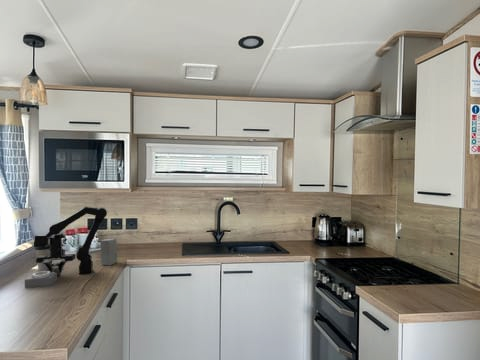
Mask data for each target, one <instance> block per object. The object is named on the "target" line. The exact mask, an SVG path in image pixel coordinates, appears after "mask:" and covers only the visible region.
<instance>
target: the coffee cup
mask: <svg viewBox="0 0 480 360" xmlns="http://www.w3.org/2000/svg"><path fill="white" fill-rule="evenodd" d="M49 249H50V243H49V245H47V246H46V247H38V248H34V250H35V257H36V258H37V257H39V256H43V255H47V256H48V257H49V256H50V251H49ZM36 258H35V259H36ZM43 263H44V261H43V262H42V263H37V269H38V272H40V271H49V269H48V268H47V266H46V265H45V264H43Z"/></svg>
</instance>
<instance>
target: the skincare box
mask: <svg viewBox="0 0 480 360" xmlns="http://www.w3.org/2000/svg"><path fill="white" fill-rule="evenodd" d="M117 251H118V250H117V238H106V239H105V238H103V239H102V240H100V263H101V266H111V265H115V263H118V258H117V257H118V255H117Z"/></svg>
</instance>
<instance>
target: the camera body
mask: <svg viewBox="0 0 480 360" xmlns="http://www.w3.org/2000/svg"><path fill="white" fill-rule="evenodd" d="M56 281H58V277H57V273H55V272H52V273H51V272H50V271H49V270H46V271H37V272H34V273H33V272H32V274H31V275H29V276H28V277H27V278H25V279H24V288H33V287H49V286H53V284H54V283H56Z"/></svg>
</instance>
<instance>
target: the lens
mask: <svg viewBox="0 0 480 360" xmlns="http://www.w3.org/2000/svg"><path fill="white" fill-rule="evenodd" d="M51 268H52V272H55V273H57V278H60V277H61V276H62V273H60V262H52V266H51Z"/></svg>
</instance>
